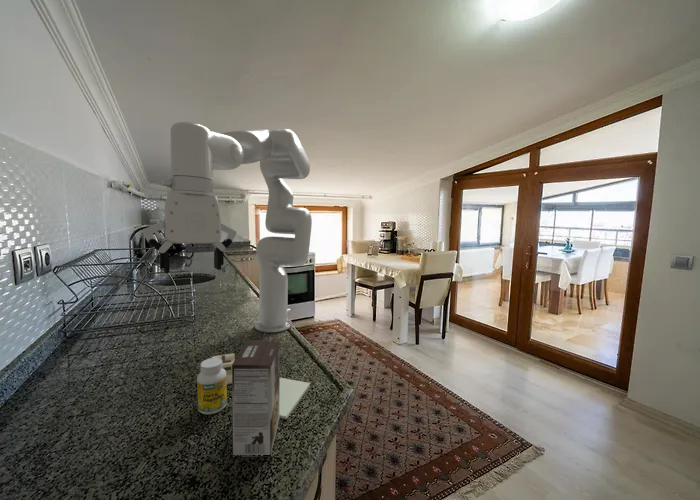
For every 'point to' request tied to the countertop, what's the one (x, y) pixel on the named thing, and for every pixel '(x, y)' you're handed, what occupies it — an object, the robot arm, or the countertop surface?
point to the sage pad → (290, 395)
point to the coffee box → (256, 397)
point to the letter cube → (227, 365)
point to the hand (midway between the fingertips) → (193, 270)
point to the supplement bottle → (211, 386)
